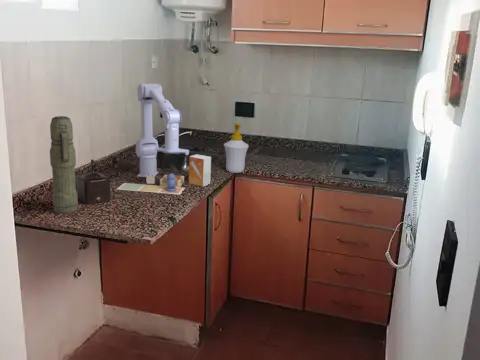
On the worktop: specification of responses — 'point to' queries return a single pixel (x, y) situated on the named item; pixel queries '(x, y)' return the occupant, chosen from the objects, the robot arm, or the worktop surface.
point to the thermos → (63, 166)
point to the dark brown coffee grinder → (95, 184)
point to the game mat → (149, 188)
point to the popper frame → (177, 183)
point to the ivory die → (150, 178)
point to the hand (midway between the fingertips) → (171, 169)
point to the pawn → (171, 183)
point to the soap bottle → (235, 152)
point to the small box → (199, 170)
